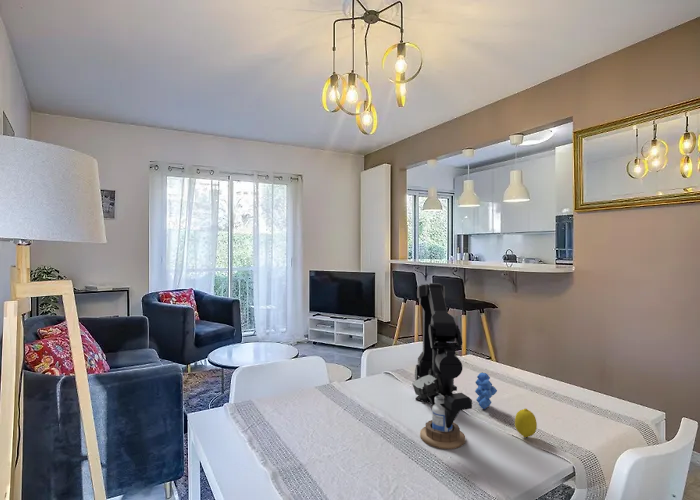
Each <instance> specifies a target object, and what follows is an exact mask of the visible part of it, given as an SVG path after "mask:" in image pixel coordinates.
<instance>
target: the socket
mask: <svg viewBox="0 0 700 500" xmlns="http://www.w3.org/2000/svg"><path fill="white" fill-rule="evenodd" d="M419 433H420V434H419V437H420V438H419V439H421V441H422V442H423V443H425V444H426V445H427V446H430V447H433V448H436V449H439V450H440V449H441V450H453V449H454V450H455V449H458V448H462V447H463V446H464V445H465V444H466V435H465V433H464V432H463V431H462V430H461V428H460V426H459V424H457V423H456V422H455V421H454V422H453V424H452V431H450V432H440V431H436V430H434V429H433V428H432V419H430V420H428V421H427V422H426V423H425V426H424V427H422V428H421V429H420V432H419Z"/></svg>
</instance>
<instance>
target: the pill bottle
mask: <svg viewBox="0 0 700 500" xmlns="http://www.w3.org/2000/svg"><path fill="white" fill-rule="evenodd" d="M444 398H445V397H443V396H441V395H438V396H435V401H434V402H435V404H434V405H433V406H431V411H432V413H431V415H432V417H431V418H432V419H431V420H432V428H433V429H434V430H436V431H440V432H450V431H452V425H451V427H450V428H447V427H446V422H445V410H444V408H443V407H442V406H441V405H440V404H444Z"/></svg>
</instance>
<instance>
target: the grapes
mask: <svg viewBox="0 0 700 500" xmlns="http://www.w3.org/2000/svg"><path fill="white" fill-rule="evenodd" d="M476 377H477V379H476V381H475V384H476V386H477V388H476V389H475V391H474V392H475V394H476V395H477V398H476V402H477V403H478V406H479V407H480V408H481V409H482V408H483V410H486V409H487V408H489V407H490V405H491V404H492V400H491V398H492V397H493V396H494V395H495V394H497V392H498V390H497V388H496V387H495V386H493V383H492V382H491V380H490V379H491V377H490V376H489V374H488V373H486V372H480V373H479V374H478V375H477V376H476Z"/></svg>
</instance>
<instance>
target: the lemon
mask: <svg viewBox="0 0 700 500" xmlns="http://www.w3.org/2000/svg"><path fill="white" fill-rule="evenodd" d="M514 418H515V419H514V426H515V428H516V431H517V433H518V434H519V435H520V436H523V437H524V438H525V437H527V438H528V437H531V436H533V435H535V433H536V431H537V427H538V422H537V417H536V416H535V414H534V413H533V412H532V411H531V410H529V409H528V408H523V409H520V410H518V411H517V412H516V414H515V417H514Z"/></svg>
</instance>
